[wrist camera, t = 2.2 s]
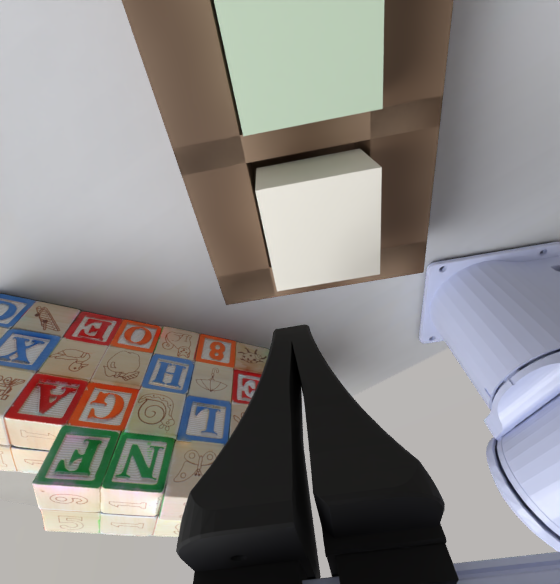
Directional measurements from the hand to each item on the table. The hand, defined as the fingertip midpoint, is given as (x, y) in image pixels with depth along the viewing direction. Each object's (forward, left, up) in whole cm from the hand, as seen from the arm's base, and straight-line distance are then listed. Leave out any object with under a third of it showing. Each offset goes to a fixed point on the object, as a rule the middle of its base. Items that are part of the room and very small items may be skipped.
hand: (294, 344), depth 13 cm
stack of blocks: (+13, +8, -11) cm, 19 cm away
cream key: (-2, -3, -7) cm, 8 cm away
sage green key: (-2, -10, -7) cm, 12 cm away
